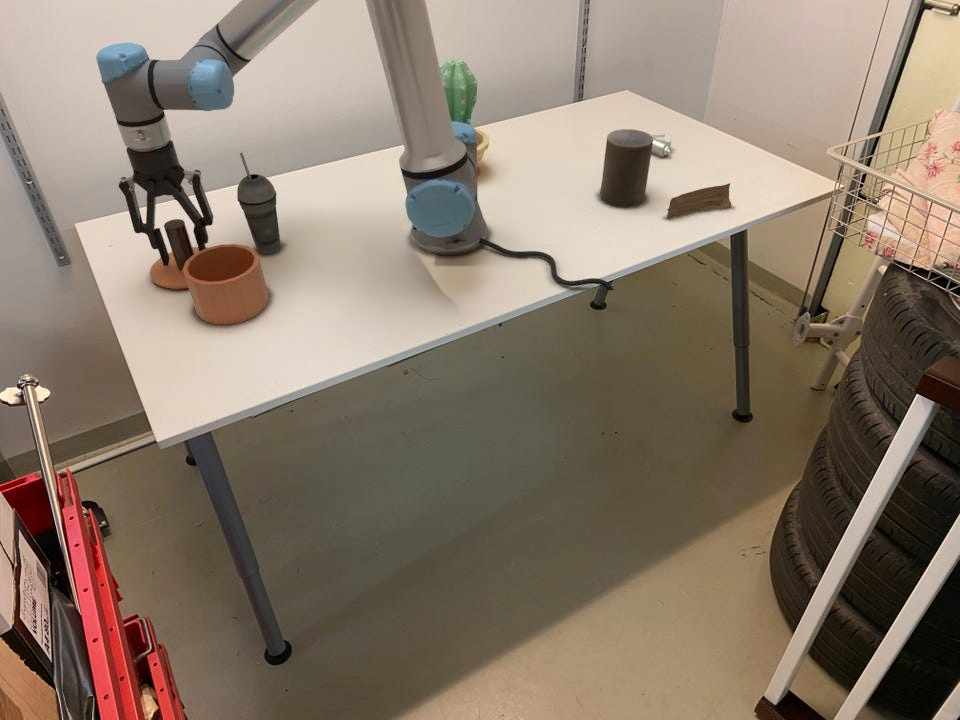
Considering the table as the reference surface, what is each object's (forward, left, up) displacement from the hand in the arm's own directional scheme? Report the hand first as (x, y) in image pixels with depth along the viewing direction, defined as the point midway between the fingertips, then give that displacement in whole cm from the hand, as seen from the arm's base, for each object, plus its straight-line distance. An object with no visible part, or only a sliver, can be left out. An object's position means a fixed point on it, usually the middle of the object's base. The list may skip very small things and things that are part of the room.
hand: (185, 259), depth 137 cm
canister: (-15, +3, -3) cm, 15 cm away
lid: (0, 0, -2) cm, 2 cm away
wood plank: (-75, -73, -3) cm, 105 cm away
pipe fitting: (-55, -96, -3) cm, 111 cm away
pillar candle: (-58, -71, -3) cm, 92 cm away
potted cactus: (-20, -62, -3) cm, 65 cm away
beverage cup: (-7, -14, -3) cm, 16 cm away
